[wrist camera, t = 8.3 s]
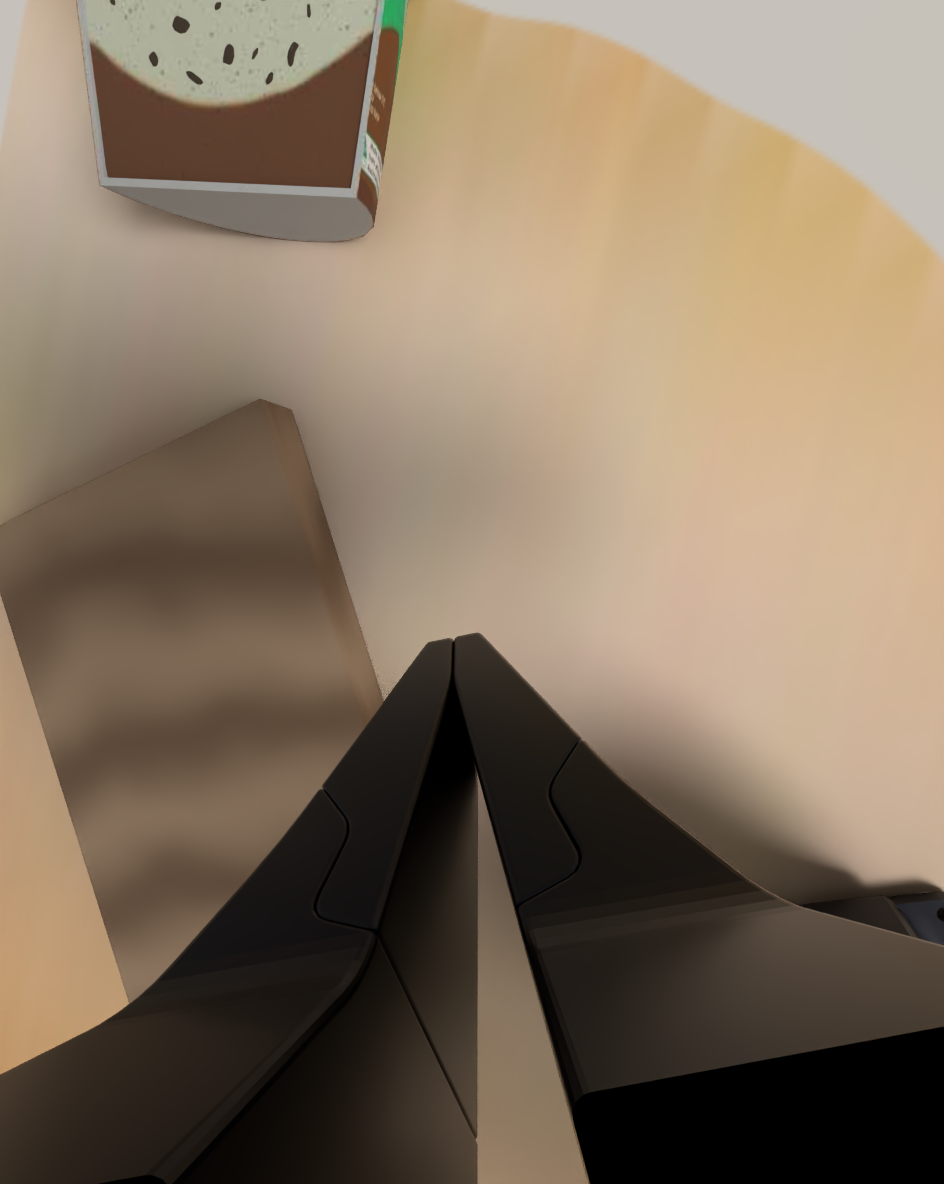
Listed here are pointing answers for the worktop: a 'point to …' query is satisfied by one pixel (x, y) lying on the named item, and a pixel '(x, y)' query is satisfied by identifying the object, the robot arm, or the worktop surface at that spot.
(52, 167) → the worktop surface
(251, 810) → the walnut chopping board
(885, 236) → the worktop surface
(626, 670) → the worktop surface
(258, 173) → the food container
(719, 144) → the worktop surface
